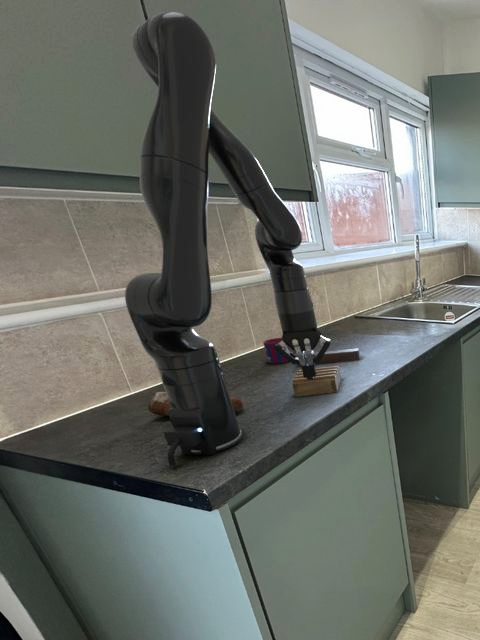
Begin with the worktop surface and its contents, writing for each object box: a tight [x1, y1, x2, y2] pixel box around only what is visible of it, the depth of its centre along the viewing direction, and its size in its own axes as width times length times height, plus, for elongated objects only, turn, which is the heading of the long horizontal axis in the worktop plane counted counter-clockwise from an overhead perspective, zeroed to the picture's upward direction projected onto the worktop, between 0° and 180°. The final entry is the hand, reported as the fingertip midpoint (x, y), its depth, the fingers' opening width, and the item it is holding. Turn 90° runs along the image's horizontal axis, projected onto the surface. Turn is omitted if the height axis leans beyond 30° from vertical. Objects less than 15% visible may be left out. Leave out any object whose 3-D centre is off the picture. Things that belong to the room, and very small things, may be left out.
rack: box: [292, 365, 342, 398], centre depth 110 cm, size 10×10×4 cm
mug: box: [263, 337, 296, 365], centre depth 134 cm, size 7×10×7 cm
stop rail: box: [297, 347, 361, 367], centre depth 131 cm, size 3×18×3 cm, turn 106°
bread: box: [147, 391, 244, 417], centre depth 96 cm, size 6×19×6 cm, turn 90°
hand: (311, 378), depth 102 cm, fingers closed
